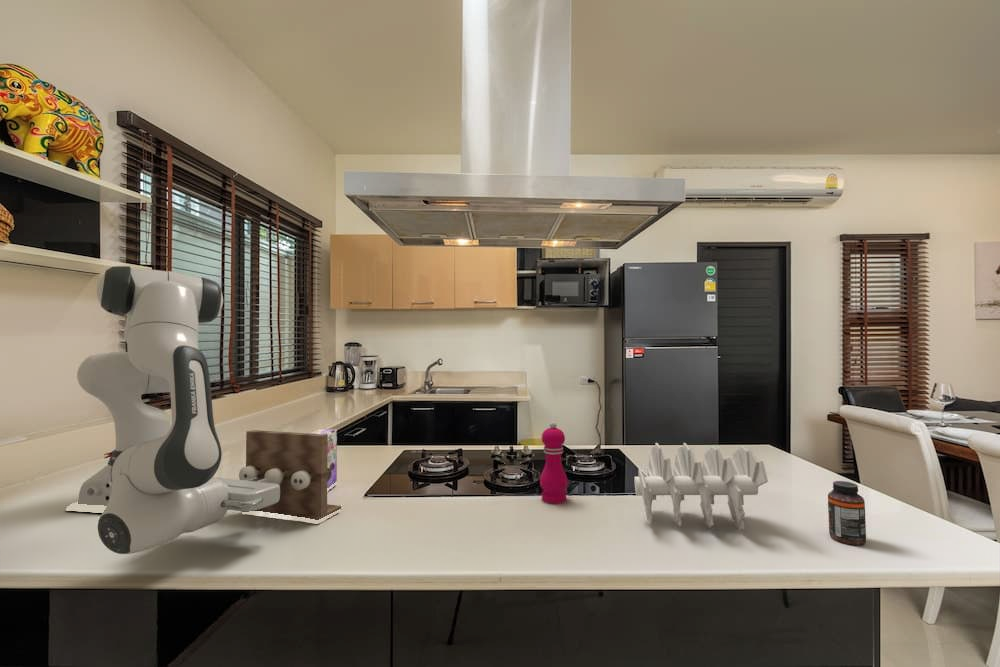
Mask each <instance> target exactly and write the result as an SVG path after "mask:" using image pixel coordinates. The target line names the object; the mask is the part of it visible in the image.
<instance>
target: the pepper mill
mask: <svg viewBox="0 0 1000 667" xmlns="http://www.w3.org/2000/svg"><path fill="white" fill-rule="evenodd" d="M565 440H566V436H565V433H564V432H563V430H561V429H560V428H558V427H557V423H556V422H555V421H551V422H550V423H549V427H548V428H546V429H545V430H543V432H542V434H541V441H542V443H543V445H544V446H543V453H544V454H545V464H544V468H543V470H542V471H541V473H540V474H541V475H540V478H539V485H540V487H541V489H542V492H541V500H542V501H543V502H544V503H548V504H562V503H565V502H566V501H567V493H566V492H565V490H566V489H567V488H568V485H569V482H568V477H567V474H566V471H565V470H564V467H563V464H562V454H563V453H564V450H563V449H564V447H563V444H564V443H565Z"/></svg>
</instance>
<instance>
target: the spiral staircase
mask: <svg viewBox="0 0 1000 667" xmlns="http://www.w3.org/2000/svg"><path fill="white" fill-rule="evenodd" d="M709 447H710V449H708V450H706V453H705V454H704V455H703V456H704V459H703V460H702V461H699V462H698V461H697V457H696V454H695V450H694V448H693V446H690V448H689V446H688V444H687V443H686V442H683V446H680V447H678V449H677V452H678V453H676V454H675V460H674V466H675V467H673V471H672V464H671V459H670V458H667V455H666V452H665V448H664V445H663V444H662V445H660V444H659V443H658V442H655V446H653V447H652V448H651V450H650V452H651V454H648V455H649V456H648V457H649V459H648V469H647V470H646V471H647V476H645V475H646V474H645V473H644V472H643V471H642V467H641V466H638V468H637V469H638V470H637V472H638V476H634V479H633V480H634V481H633V482H634V490H635V495H636V496H642V501H643V503H644V504H643V505H644V509H645V516H646V520H647V522H648V523H649V524H653V518H652V516H653V515H652V514H653V513H652V506H653V505H652V504H653V501H657V496H670V497H671V501H672V505H673V506H672V507H673V514H674V520H675V522H676V524H677V525H679V526H682V518H681V517H682V516H681V514H682V512H681V503H682V501H685V496H700V504H699V505H700V508H701V511H702V515H703V520H704V522H705V525H706V526H707V528H708V529H709V528H710V529H709V530H711V529H712V526H714V520H713V514H712V513H713V507H712V506H713V505H715V496H727V499H728V500H727V506H728V509H729V512H730V516H731V519H732V521H733V523H734V524H735V526H736V528H737V530H738V529H745V523H744V522H745V521H744V517H745V515H746V514H745V510H744V497H745V496H755V495H756V496H757V495H758V494H759V487H760V486H762V485H765V484H766V483H769V481H768V476H767V472H766V467H765V464H764V461H761V460H760V461H758V460H759V459H758V458H757V456H756V454H755V452H754V449H753V447H748V449H747V448H745V447H744V446H743V445H739V449H737V450H735V451H734V452H733V453H732V458H730V457H727V458H726V456H725V454H724V451H723V449H722V447H721V446H717V448H715V446H714V445H710V446H709Z"/></svg>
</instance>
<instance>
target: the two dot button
mask: <svg viewBox="0 0 1000 667" xmlns="http://www.w3.org/2000/svg"><path fill="white" fill-rule="evenodd" d="M311 479H312V473H310V474H308V472H306V471H304V470H301V471H298V472H296V473H294V474H293V475H292V477H291V484H292V486H293V488H294V489H296V490H302V489H304V488H307V487H308V486H309V484H310V480H311Z"/></svg>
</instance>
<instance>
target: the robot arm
mask: <svg viewBox="0 0 1000 667" xmlns="http://www.w3.org/2000/svg"><path fill="white" fill-rule="evenodd" d="M97 282H98V283H97V286H96V296H97V298H98V301H99V303H100V307H101V308H102V309H103V311H106V312H107V313H110V314H113V315H114V316H115V315H116V316H120V317H124V316H126V318H125V323H124V331H123V338H124V341H125V342H126V344H127V348H126V349H127V351H112V352H103V353H98V354H92V355H89V356H87V357H86V358H85V359H84V360H83V361H82V362H81V363H80V365H79V367H78V369H77V372H76V379H77V382H78V384H79V387H81V389H82V390H83V391H85V392H86V393H87V394H89V395H91V396H93V397H95V398H97V399H98V400H99V401H101V403H103V404H104V406H105V407H106V408H108V410H109V412H110V413H111V416H112V418H113V422H114V432H115V448H114V450H112V451H111V452H107V453H104V454H103V455H104V457H103V459H107V458H109V459H108V462H107V465H106V466H104V467H102V468H101V469H100V470H99V471H98V472H96V473H94V474H93V475H92V476H90V477H89V478H87V479H86V480H85V481H84V482H83V483H82V485H81V486H80V489H79V492H78V499H77V500H78V504H87V505H104V506H107V507H106V509H105V510H104V512H103V513H102V514H100V516H99V519H98V522H97V531H98V538H99V539H100V541H101V542H102V544H103V545H104V546H105V547H106V548H107V549H108V550H110V552H111V551H112V553H115V554H119V555H131V554H136V553H137V554H138V553H141V552H145V551H147V550H151V549H152V548H156V547H158V546H162V545H164V544H166V543H170V542H171V541H174V540H176V539H177V538H179V537H180V536H181V535H183V534H186V533H188V534H189V533H193V532H196V531H198V530H201V529H203V528H206V527H208V526H211V525H213V524H215V523H218V522H221V520H222V519H223V518H225V516H226V514H227V512H228V510H229V511H236V512H241V513H242V512H249V511H255V510H258V509H261V508H264V507H267V506H270V505H273V504H275V503H277V502H278V501H279V499H280V485H279V484H274V483H267V479H263V478H253V479H249V480H240V479H237V478H236V479H235V478H227V477H218V476H217V477H216V476H215V475H216V474H217V471H218V470H219V468H220V465H221V460H222V456H223V455H222V446H221V442H220V439H219V436H218V434H217V431H216V430H217V429H216V426H215V422H214V420H215V419H214V411H213V401H212V400H213V398H212V389H211V379H210V372H209V365H208V361H207V358H206V356H205V355H204V353H203V352H202V350H200V348H199V324H204V323H211V322H213V321H214V320H215V319H217V317H218V316H219V314H220V312H222V309H223V305H224V296H223V292H222V288H221V286H220V285H219V284H218V282H216V281H215V280H212V279H209V278H207V277H201V278H200V277H197V276H195V275H190V274H185V273H181V272H176V271H170V270H168V271H166V270H158V269H150V268H134V267H131V266H129V265H128V266H126V265H122V266H120V265H119V266H118V265H116V266H112V267H110V268H108V269H106V270H105V271H104V273H103V275H101V277H100V278H99V279H98V281H97ZM159 393H161V394H162V393H170V408H171V409H170V410H171V412H170V413H171V419H170V415H169V414H168V413H167V411H166V410H163V409H161V408H158V407H155V406H152V405H149V404H146V403H145V402H143V400H142V396H143V395H145V394H159Z"/></svg>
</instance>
